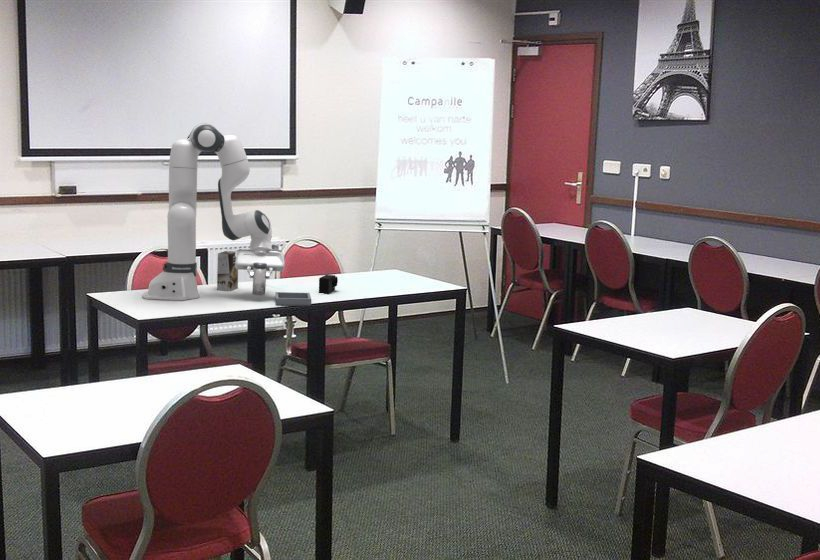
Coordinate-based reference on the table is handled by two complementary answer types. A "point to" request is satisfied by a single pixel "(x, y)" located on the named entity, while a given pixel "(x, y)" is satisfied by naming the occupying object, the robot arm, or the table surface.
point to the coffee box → (227, 271)
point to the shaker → (259, 278)
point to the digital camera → (327, 284)
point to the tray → (292, 299)
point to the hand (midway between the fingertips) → (259, 277)
